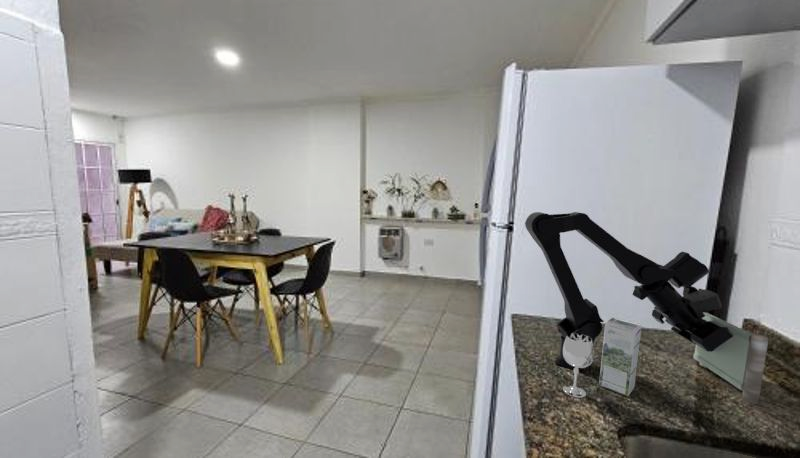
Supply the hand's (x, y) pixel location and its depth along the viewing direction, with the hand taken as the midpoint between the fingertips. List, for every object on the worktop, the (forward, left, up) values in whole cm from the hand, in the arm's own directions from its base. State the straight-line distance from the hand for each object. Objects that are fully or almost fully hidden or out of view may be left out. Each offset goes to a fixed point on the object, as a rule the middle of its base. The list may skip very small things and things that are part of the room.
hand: (711, 349), depth 82 cm
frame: (-2, -3, -6) cm, 7 cm away
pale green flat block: (-1, -2, -5) cm, 5 cm away
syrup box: (-21, +17, -6) cm, 27 cm away
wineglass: (-29, +24, -6) cm, 38 cm away
